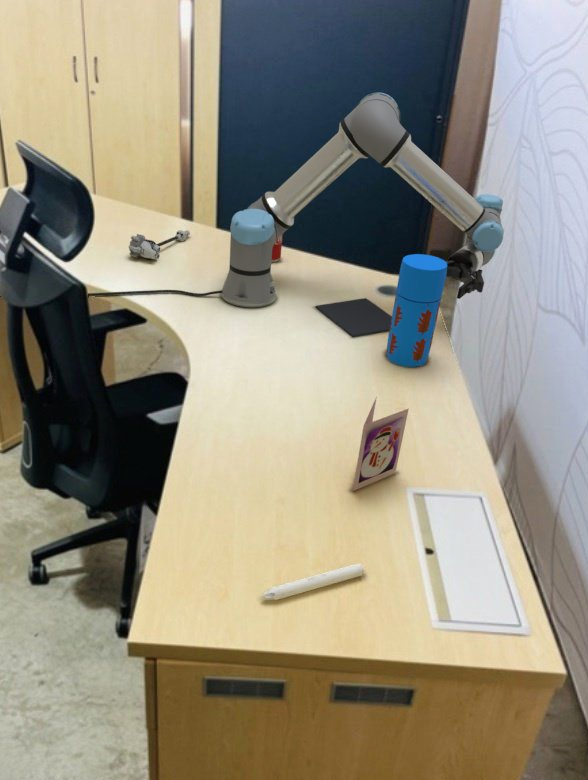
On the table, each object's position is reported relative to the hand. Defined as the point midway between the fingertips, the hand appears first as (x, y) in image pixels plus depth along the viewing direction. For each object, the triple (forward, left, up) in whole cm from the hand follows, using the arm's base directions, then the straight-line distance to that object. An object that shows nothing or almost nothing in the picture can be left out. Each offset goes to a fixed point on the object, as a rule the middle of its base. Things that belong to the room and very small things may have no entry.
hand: (433, 286), depth 189 cm
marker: (-72, -67, -16) cm, 99 cm away
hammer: (-39, +86, -16) cm, 96 cm away
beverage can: (-10, +67, -16) cm, 70 cm away
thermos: (-8, -5, -16) cm, 19 cm away
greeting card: (-46, -44, -16) cm, 66 cm away
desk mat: (-7, +20, -16) cm, 26 cm away
